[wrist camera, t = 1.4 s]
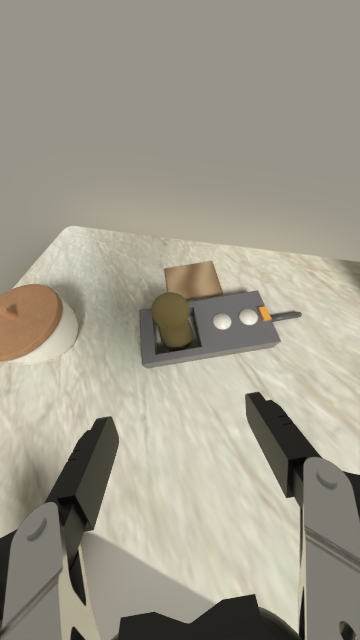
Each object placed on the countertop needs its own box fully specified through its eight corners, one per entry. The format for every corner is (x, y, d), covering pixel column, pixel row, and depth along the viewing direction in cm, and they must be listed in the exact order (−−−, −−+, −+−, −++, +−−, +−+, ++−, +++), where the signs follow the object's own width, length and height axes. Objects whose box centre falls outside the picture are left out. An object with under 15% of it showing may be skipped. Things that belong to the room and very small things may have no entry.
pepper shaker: (162, 321, 33) (148, 285, 23) (193, 321, 32) (192, 284, 23) (159, 351, 30) (142, 325, 20) (193, 351, 30) (193, 324, 20)
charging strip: (287, 293, 33) (297, 281, 30) (313, 340, 29) (328, 332, 26) (144, 317, 34) (138, 308, 30) (146, 368, 29) (140, 363, 26)
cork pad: (212, 263, 39) (212, 261, 38) (222, 294, 35) (222, 292, 34) (165, 270, 39) (164, 269, 38) (169, 303, 35) (169, 301, 34)
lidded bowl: (98, 350, 31) (53, 324, 21) (29, 385, 29) (-55, 375, 19) (82, 301, 37) (41, 263, 27) (23, 329, 35) (-44, 298, 25)
